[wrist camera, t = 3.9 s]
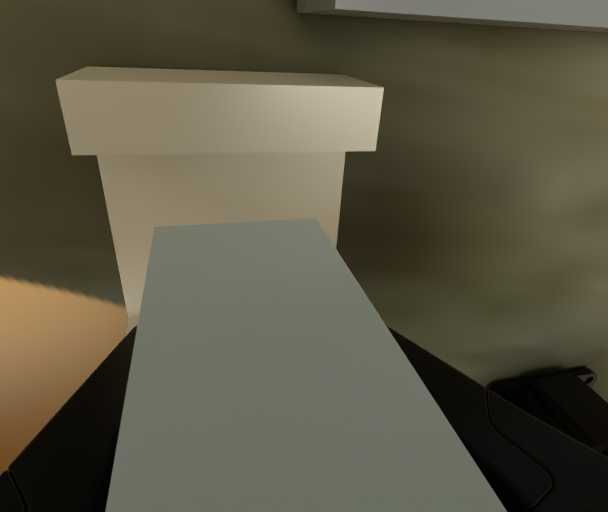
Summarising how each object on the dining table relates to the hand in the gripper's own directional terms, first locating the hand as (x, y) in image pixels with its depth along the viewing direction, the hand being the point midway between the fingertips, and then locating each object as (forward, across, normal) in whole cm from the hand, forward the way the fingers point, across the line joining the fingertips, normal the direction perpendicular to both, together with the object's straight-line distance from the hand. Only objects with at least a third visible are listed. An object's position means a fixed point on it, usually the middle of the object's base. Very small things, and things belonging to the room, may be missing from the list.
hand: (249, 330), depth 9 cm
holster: (+6, 0, 0) cm, 6 cm away
